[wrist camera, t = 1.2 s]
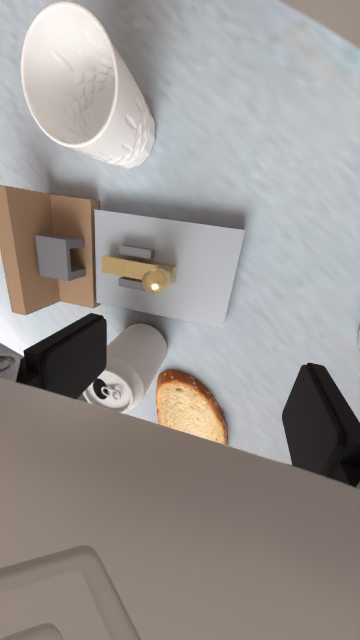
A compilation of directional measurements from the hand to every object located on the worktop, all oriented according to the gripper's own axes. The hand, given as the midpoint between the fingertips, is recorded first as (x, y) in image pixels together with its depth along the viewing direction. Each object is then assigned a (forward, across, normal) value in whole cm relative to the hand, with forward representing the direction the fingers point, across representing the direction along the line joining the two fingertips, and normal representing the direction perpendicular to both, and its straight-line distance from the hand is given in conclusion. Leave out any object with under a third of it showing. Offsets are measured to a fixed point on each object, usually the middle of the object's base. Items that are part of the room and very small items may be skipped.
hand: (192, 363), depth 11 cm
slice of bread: (+21, +1, +26) cm, 33 cm away
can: (+20, +10, +12) cm, 25 cm away
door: (+20, +13, 0) cm, 24 cm away
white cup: (+20, +14, -14) cm, 28 cm away
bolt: (+18, +10, 0) cm, 20 cm away
